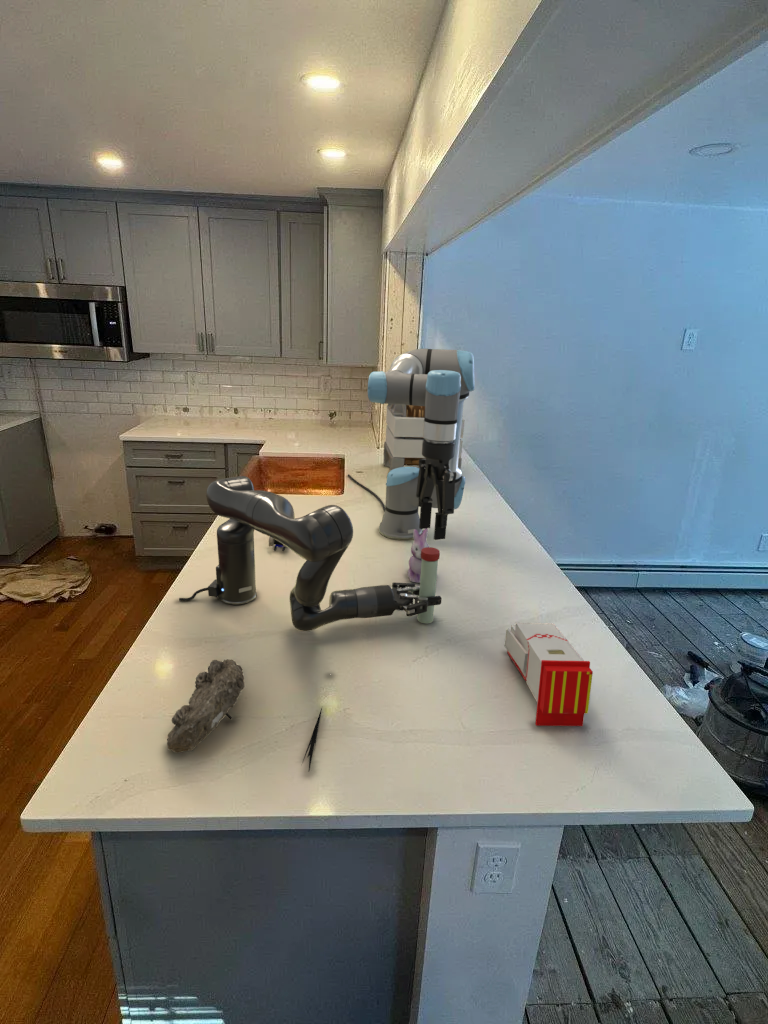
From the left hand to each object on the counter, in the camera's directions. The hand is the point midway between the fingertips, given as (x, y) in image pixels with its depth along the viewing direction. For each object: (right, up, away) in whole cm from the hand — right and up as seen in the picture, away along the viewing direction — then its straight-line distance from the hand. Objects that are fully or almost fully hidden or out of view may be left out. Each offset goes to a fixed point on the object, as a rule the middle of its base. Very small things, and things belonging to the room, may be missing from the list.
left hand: (436, 595), depth 144 cm
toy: (+20, -16, -22) cm, 33 cm away
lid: (-2, +11, -5) cm, 12 cm away
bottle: (-3, -6, +2) cm, 7 cm away
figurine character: (-47, +10, +42) cm, 64 cm away
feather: (-26, -19, -35) cm, 48 cm away
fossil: (-46, -18, -36) cm, 61 cm away
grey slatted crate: (+4, +40, +131) cm, 137 cm away
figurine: (-2, +2, +24) cm, 25 cm away
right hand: (-2, +16, -7) cm, 17 cm away
